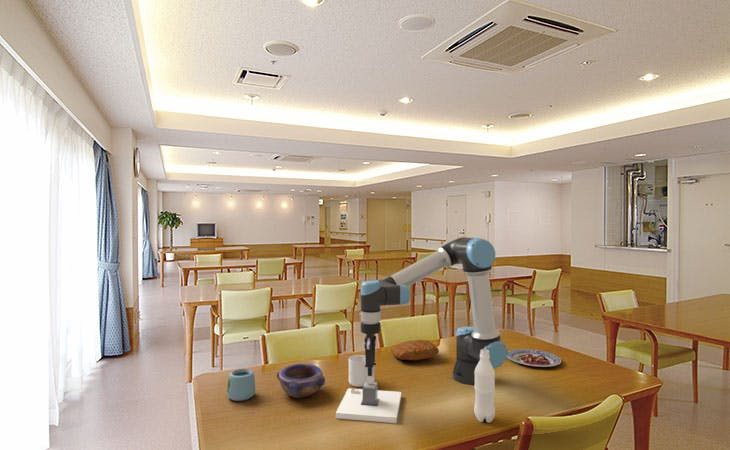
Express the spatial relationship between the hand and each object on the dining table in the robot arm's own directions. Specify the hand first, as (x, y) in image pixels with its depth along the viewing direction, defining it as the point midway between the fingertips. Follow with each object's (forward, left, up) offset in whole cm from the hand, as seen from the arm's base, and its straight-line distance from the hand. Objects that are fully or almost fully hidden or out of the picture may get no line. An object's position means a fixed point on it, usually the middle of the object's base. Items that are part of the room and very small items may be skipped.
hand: (370, 383), depth 158 cm
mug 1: (+54, -2, -10) cm, 55 cm away
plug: (0, 0, -9) cm, 9 cm away
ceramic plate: (-74, -65, -10) cm, 99 cm away
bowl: (+30, -7, -10) cm, 32 cm away
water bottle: (-42, +3, -9) cm, 43 cm away
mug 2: (+9, -23, -10) cm, 26 cm away
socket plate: (0, 0, -9) cm, 9 cm away
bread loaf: (-14, -58, -10) cm, 61 cm away
